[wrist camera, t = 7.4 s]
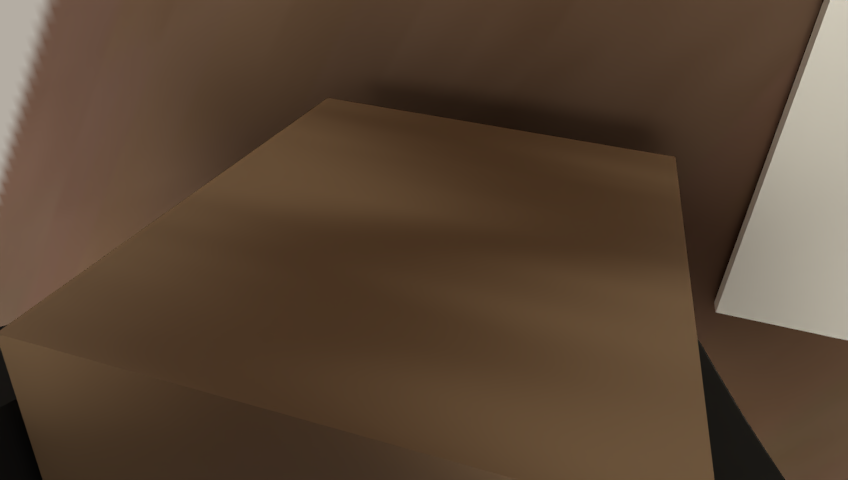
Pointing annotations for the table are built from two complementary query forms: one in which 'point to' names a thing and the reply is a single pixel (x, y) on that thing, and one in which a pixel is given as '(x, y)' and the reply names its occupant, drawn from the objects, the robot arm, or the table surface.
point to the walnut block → (382, 317)
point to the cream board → (801, 201)
